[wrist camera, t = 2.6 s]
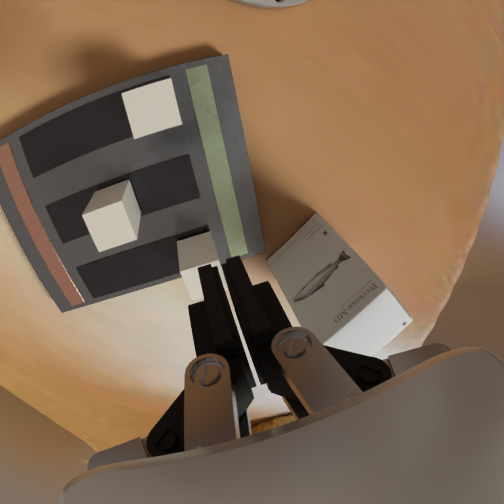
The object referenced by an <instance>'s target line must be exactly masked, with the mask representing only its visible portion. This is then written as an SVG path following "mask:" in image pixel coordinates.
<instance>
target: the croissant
mask: <svg viewBox="0 0 504 504" xmlns="http://www.w3.org/2000/svg"><path fill="white" fill-rule="evenodd" d="M295 420H296V419H295V417H294V416H293V415H287V416H282V417H277V418H276V417H275V418H274V419H271V420H270V421H266V422H263V423H260V424H258V425H256V426H254V427H252V428H251V431H252V435H253V434H256V433H260V432H263V431H266V430H269V429H272V428H275V427H278V426H281V425H284V424H287V423H290V422H293V421H295Z"/></svg>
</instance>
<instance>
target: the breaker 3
mask: <svg viewBox="0 0 504 504" xmlns="http://www.w3.org/2000/svg"><path fill="white" fill-rule="evenodd" d="M177 250H178V259H179V269H180V273H181V276H182V278H183V281H184V283H185V286H186V288H187V291H188V293H189V296H190V298H191V300H192V301H193V300H197V299H200V298H204V297H203V292H202V288H201V283H200V278H199V273H198V267H201V266H205V265H208V264H211V266H212V267H214V266H217V267H218V270H219V274H220V277H221V280H222V283H223V286H224V289H225V291H227V290H228V288H227V285H226V282H225V278H224V275H223V272H222V268H221V265H220V261H219V258H218V255H217V252H216V249H215V245H214V242H213V239H212V236H211V232H206V233H203V234H200V235H196V236H193V237H190V238H186V239H183V240H180V241H177Z"/></svg>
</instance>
